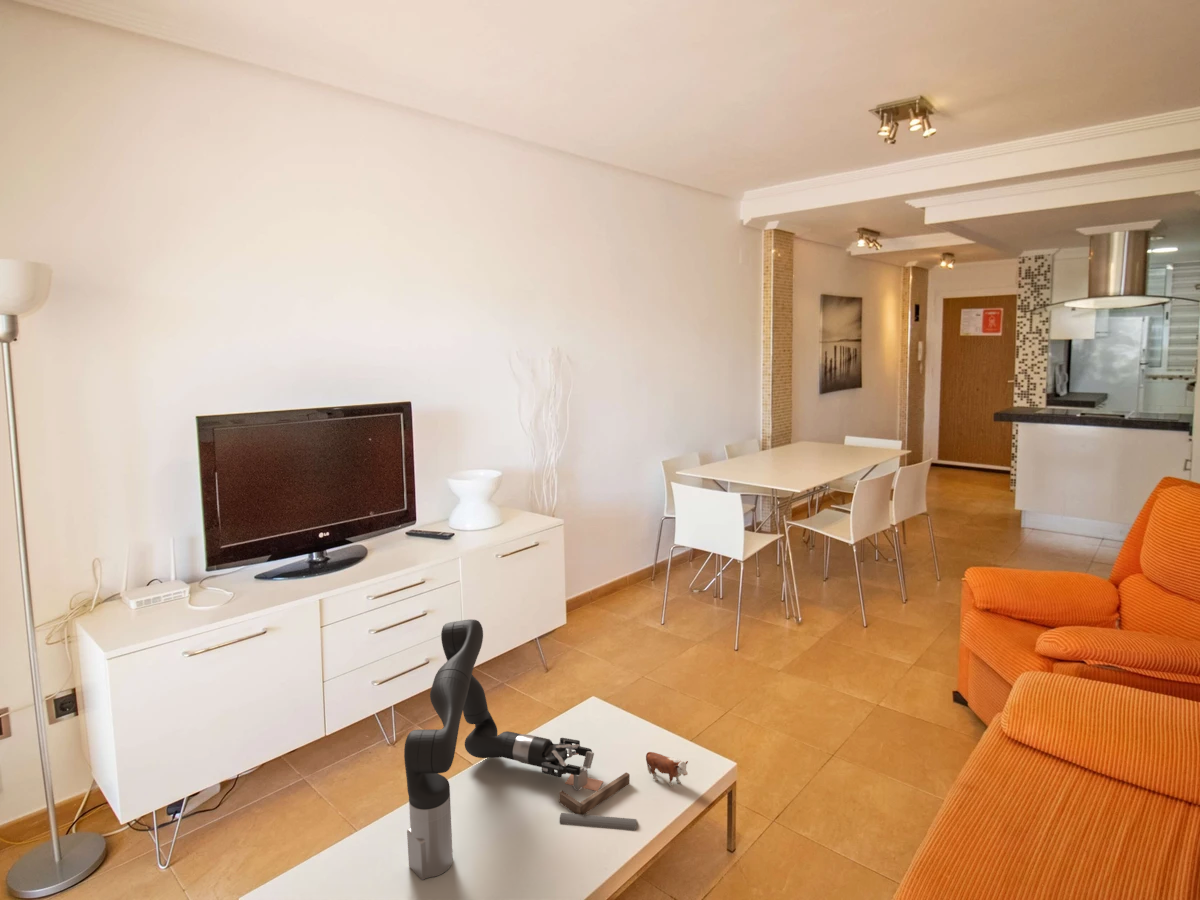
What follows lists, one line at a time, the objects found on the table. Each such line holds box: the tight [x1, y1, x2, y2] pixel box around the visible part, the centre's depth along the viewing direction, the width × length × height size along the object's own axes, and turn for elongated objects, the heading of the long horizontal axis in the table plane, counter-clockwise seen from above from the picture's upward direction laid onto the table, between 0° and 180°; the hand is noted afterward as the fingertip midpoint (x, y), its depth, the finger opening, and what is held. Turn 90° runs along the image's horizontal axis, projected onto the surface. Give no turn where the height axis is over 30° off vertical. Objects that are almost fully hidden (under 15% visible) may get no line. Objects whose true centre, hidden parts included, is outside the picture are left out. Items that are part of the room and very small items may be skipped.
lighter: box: [573, 751, 595, 791], centre depth 190 cm, size 7×2×8 cm, turn 142°
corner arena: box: [558, 772, 630, 815], centre depth 186 cm, size 19×8×3 cm, turn 135°
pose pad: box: [565, 774, 604, 792], centre depth 191 cm, size 4×10×1 cm, turn 70°
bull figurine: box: [645, 751, 689, 787], centre depth 191 cm, size 4×13×8 cm, turn 53°
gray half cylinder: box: [559, 812, 637, 832], centre depth 175 cm, size 4×20×2 cm, turn 82°
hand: (585, 762), depth 190 cm, fingers open, 8 cm apart
